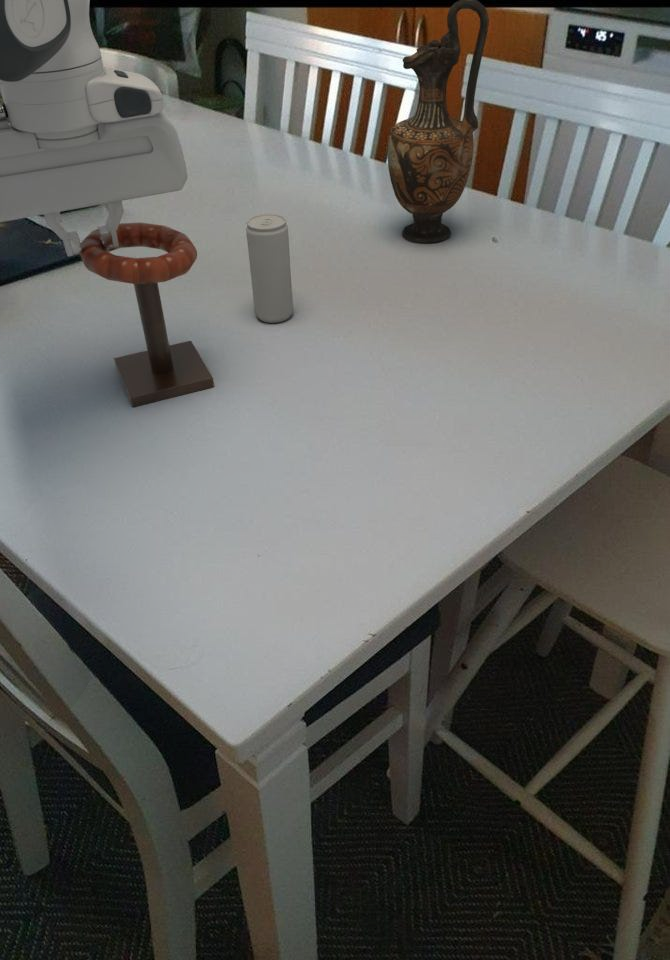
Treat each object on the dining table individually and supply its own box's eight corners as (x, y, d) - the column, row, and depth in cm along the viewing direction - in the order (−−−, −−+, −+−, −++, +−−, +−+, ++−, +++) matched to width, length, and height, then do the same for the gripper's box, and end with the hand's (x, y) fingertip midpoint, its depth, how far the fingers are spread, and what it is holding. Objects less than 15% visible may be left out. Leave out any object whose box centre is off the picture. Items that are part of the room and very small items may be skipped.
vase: (396, 216, 124) (400, -11, 104) (477, 222, 121) (496, -10, 102) (378, 247, 115) (378, 6, 96) (465, 255, 112) (483, 8, 93)
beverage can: (251, 323, 99) (240, 228, 91) (260, 305, 103) (251, 212, 95) (289, 325, 98) (282, 230, 91) (297, 307, 102) (291, 213, 94)
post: (132, 407, 86) (106, 293, 77) (115, 367, 92) (89, 257, 84) (214, 387, 88) (197, 274, 80) (192, 349, 95) (174, 241, 86)
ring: (92, 292, 76) (89, 268, 74) (73, 245, 84) (70, 222, 82) (208, 282, 80) (208, 259, 78) (180, 238, 88) (179, 216, 86)
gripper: (-69, 124, 65) (-16, 284, 74) (179, 90, 71) (201, 241, 79) (-72, 105, 69) (-21, 258, 78) (162, 74, 75) (184, 219, 84)
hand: (92, 249), depth 79 cm, fingers closed on ring, 2 cm apart
